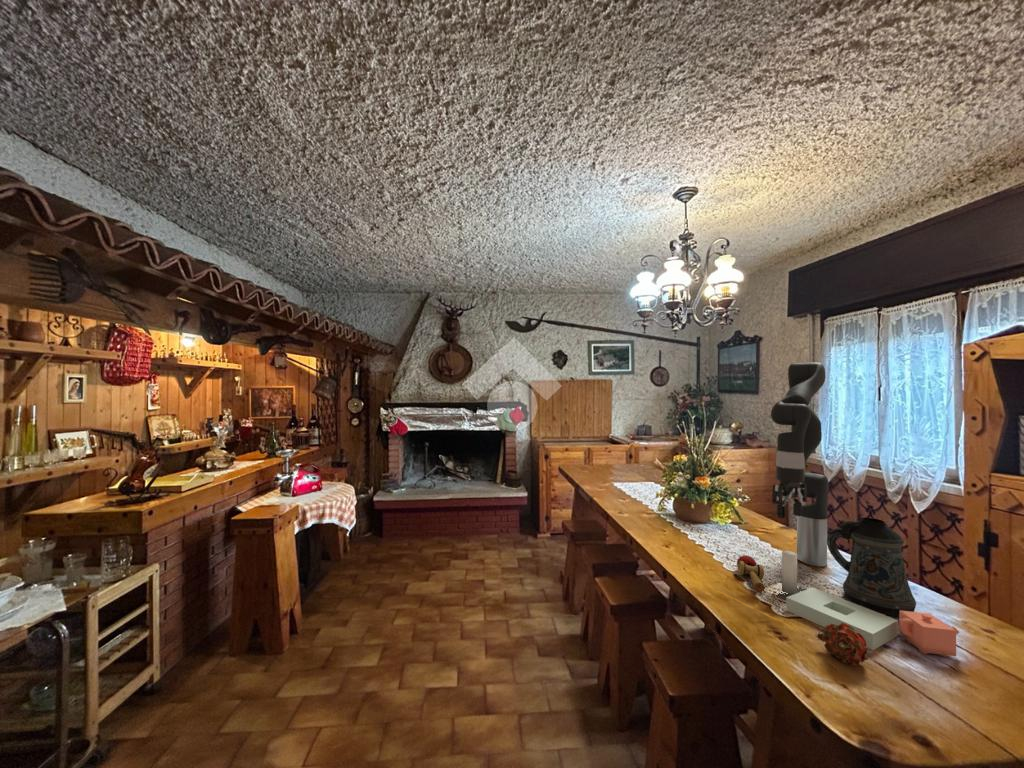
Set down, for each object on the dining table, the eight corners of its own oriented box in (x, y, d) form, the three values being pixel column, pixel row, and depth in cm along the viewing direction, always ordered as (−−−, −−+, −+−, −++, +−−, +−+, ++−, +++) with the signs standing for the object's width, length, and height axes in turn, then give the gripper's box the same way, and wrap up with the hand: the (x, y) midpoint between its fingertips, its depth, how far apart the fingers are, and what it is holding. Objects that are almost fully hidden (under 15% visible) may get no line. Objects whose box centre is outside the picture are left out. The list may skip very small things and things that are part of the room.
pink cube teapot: (972, 662, 96) (972, 627, 97) (912, 655, 99) (912, 620, 99) (944, 643, 104) (944, 610, 104) (890, 636, 106) (890, 604, 107)
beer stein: (932, 622, 113) (932, 532, 114) (852, 613, 117) (852, 526, 118) (890, 594, 130) (890, 515, 130) (821, 587, 134) (821, 510, 134)
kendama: (776, 597, 127) (758, 567, 144) (772, 578, 127) (755, 550, 144) (748, 598, 129) (734, 569, 147) (745, 579, 129) (731, 552, 146)
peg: (786, 587, 132) (786, 549, 132) (799, 592, 128) (799, 554, 129) (779, 589, 130) (779, 551, 130) (792, 595, 126) (792, 556, 127)
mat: (785, 581, 137) (785, 580, 137) (818, 594, 128) (818, 593, 128) (760, 590, 130) (760, 589, 130) (794, 604, 121) (794, 603, 122)
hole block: (812, 600, 124) (812, 587, 124) (897, 635, 107) (897, 620, 107) (786, 611, 118) (786, 597, 118) (872, 650, 100) (872, 634, 100)
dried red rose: (851, 682, 91) (831, 658, 102) (888, 665, 89) (864, 643, 100) (823, 643, 94) (806, 624, 105) (858, 626, 92) (837, 609, 103)
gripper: (791, 463, 137) (790, 511, 137) (764, 464, 131) (763, 515, 131) (815, 466, 131) (815, 518, 130) (788, 468, 124) (788, 522, 124)
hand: (789, 516), depth 130 cm, fingers open, 8 cm apart
